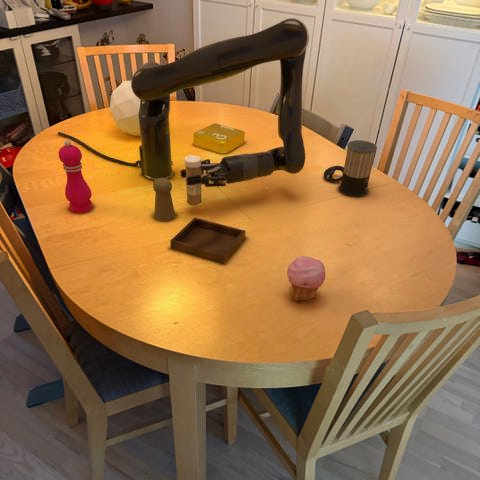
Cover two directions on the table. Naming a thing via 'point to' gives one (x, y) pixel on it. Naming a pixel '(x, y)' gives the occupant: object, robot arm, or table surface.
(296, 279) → the cupcake
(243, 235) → the tray
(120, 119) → the ball
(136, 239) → the table surface
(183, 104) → the table surface
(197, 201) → the sprinkles bottle
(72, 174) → the pepper mill
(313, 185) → the table surface
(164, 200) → the olive chess pawn
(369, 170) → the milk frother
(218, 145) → the element tile
